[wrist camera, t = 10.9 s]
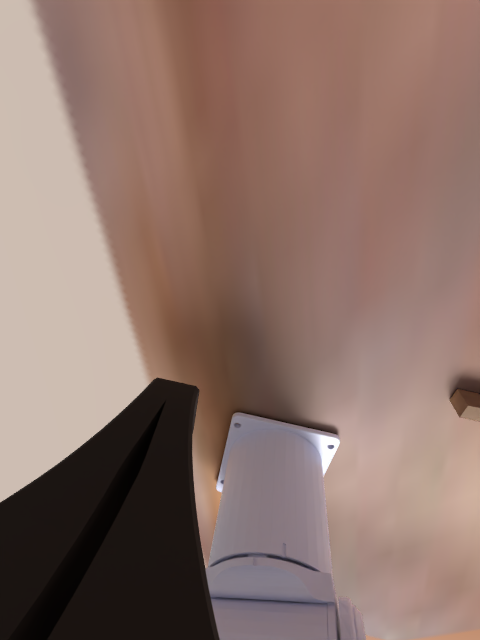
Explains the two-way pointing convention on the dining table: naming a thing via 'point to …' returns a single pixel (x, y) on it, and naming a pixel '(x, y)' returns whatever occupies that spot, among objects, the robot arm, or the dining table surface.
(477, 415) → the corral
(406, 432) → the dining table surface
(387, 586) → the dining table surface
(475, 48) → the dining table surface
